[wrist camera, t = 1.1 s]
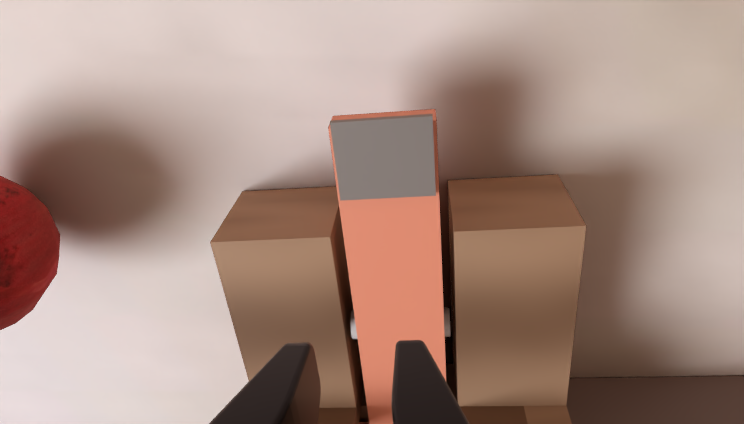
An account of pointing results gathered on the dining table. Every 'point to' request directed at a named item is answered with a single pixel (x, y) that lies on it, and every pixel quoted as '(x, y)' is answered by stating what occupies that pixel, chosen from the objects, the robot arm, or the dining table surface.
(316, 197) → the brown wooden lever base
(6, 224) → the onion
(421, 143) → the lever
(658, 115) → the dining table surface
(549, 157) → the dining table surface
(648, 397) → the tray
